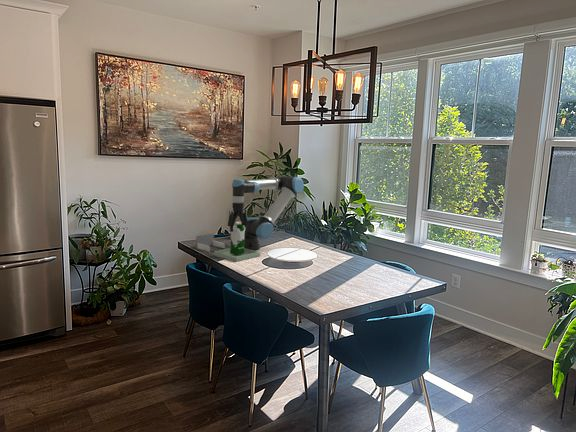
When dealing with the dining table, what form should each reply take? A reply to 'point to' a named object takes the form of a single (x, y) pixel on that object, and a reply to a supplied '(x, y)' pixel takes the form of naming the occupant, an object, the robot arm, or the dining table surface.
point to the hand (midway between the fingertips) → (237, 235)
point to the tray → (236, 258)
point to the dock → (207, 242)
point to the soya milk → (238, 240)
